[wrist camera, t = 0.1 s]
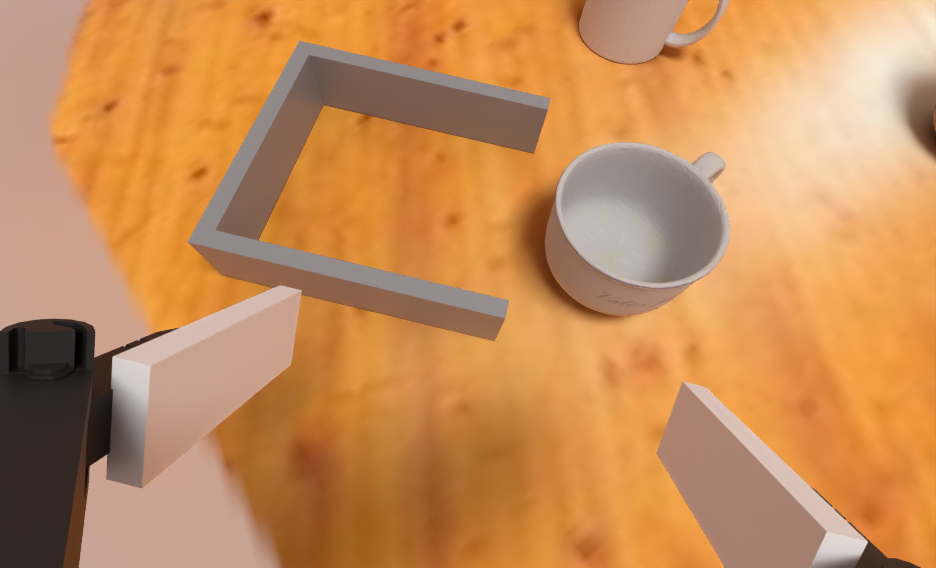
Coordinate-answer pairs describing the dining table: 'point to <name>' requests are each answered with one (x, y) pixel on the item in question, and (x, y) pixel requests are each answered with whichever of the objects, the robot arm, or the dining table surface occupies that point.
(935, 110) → the vase
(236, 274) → the box
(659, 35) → the mug
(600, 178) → the teacup
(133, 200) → the dining table surface
